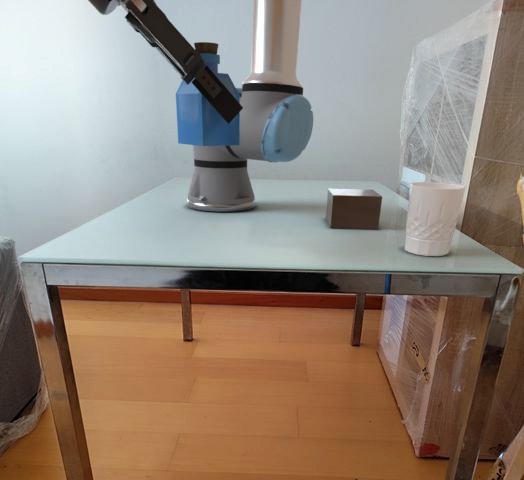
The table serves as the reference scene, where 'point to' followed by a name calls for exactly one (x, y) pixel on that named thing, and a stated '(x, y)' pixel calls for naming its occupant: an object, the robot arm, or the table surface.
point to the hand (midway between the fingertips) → (231, 115)
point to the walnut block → (353, 208)
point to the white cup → (432, 217)
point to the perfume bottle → (205, 108)
